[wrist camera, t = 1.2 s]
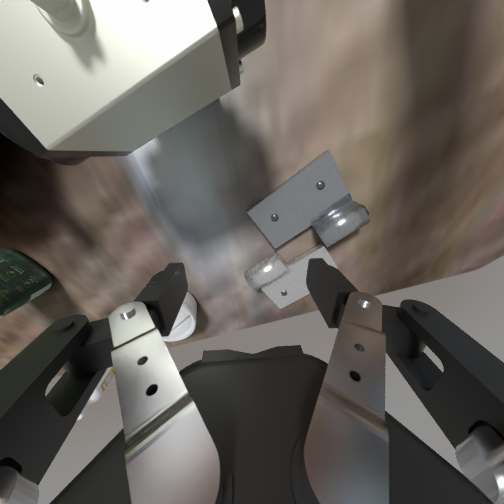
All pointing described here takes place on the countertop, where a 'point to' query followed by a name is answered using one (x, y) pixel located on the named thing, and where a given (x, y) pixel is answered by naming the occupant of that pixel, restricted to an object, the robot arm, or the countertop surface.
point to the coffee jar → (19, 280)
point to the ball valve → (116, 69)
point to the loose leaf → (284, 276)
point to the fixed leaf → (310, 205)
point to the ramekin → (184, 320)
